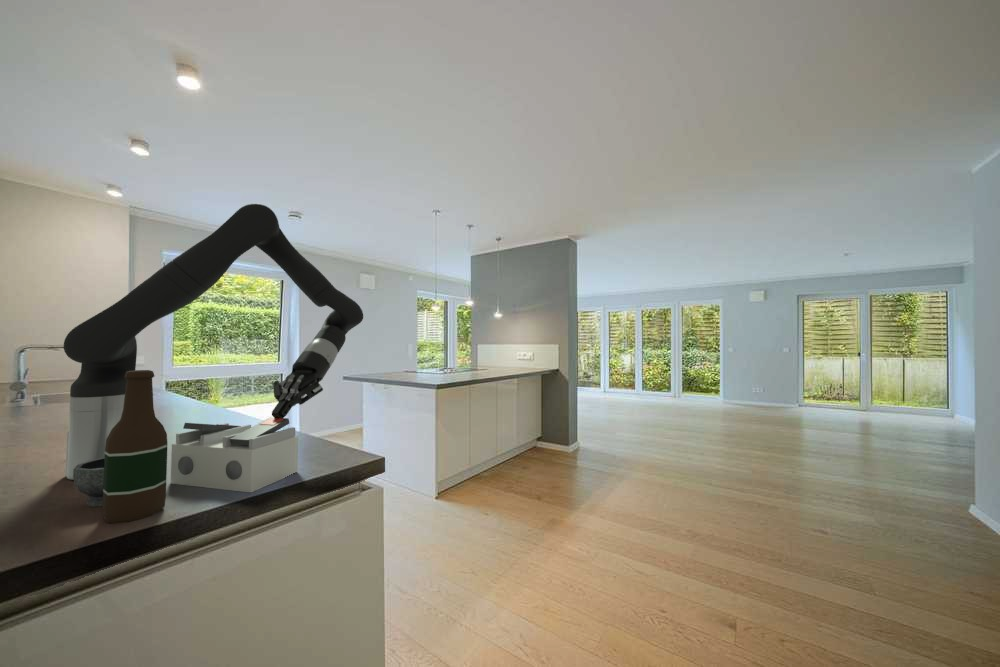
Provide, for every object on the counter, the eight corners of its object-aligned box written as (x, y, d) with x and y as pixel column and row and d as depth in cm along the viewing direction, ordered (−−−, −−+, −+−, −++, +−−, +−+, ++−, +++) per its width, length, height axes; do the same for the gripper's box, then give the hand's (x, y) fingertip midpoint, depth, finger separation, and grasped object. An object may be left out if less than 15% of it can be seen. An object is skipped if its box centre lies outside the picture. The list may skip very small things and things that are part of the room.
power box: (168, 484, 77) (170, 434, 77) (225, 465, 89) (226, 422, 89) (249, 493, 72) (250, 440, 73) (297, 472, 84) (298, 427, 85)
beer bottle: (125, 526, 59) (131, 372, 60) (87, 521, 60) (93, 371, 61) (177, 505, 66) (181, 369, 67) (142, 502, 68) (147, 368, 69)
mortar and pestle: (113, 510, 65) (116, 439, 65) (54, 512, 64) (57, 440, 64) (166, 486, 76) (168, 426, 76) (117, 487, 75) (119, 426, 76)
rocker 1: (183, 428, 78) (185, 422, 79) (226, 431, 87) (227, 425, 88) (202, 429, 77) (204, 423, 77) (243, 432, 86) (245, 426, 87)
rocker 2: (230, 444, 76) (229, 438, 75) (270, 422, 85) (269, 416, 85) (251, 445, 74) (250, 439, 74) (289, 423, 84) (288, 417, 84)
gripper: (286, 349, 95) (241, 406, 83) (332, 349, 92) (292, 408, 80) (301, 369, 100) (261, 425, 88) (345, 370, 97) (310, 428, 85)
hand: (276, 417), depth 84 cm, fingers closed
